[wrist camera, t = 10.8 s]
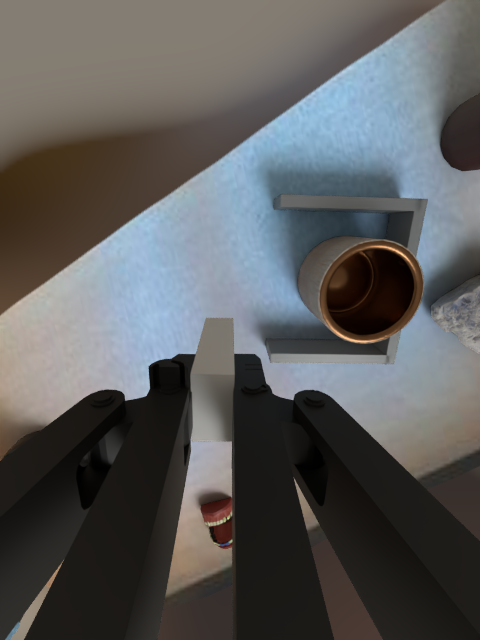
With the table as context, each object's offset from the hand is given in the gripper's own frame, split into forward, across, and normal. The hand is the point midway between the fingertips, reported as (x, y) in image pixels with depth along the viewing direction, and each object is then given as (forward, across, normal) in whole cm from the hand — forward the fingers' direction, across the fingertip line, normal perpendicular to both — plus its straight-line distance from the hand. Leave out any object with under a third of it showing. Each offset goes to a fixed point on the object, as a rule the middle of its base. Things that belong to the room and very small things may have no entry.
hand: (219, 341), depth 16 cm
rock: (+23, -34, +3) cm, 41 cm away
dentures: (+23, 0, +40) cm, 46 cm away
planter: (+23, -15, 0) cm, 27 cm away
